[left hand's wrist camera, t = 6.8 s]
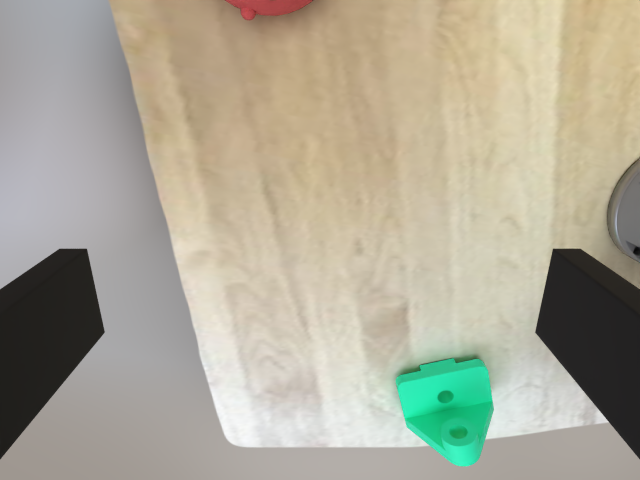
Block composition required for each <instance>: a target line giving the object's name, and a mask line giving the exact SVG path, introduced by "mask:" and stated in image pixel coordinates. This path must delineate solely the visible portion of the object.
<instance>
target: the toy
mask: <svg viewBox="0 0 640 480" xmlns="http://www.w3.org/2000/svg"><path fill="white" fill-rule="evenodd" d="M225 1H227V2H229V3H230V4H232V5H233V6H235V7H237V8H240V9H241V15H242V17H243V18H244V19H246V20H252V19H253V18H254V17H255V15H256V14H259V15H282V14H287V13H291V12H293V11H296V10H298V9H300V8H302V7H304V6H306V5H307V4H309V3H310V2H312V1H313V0H225Z"/></svg>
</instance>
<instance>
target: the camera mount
mask: <svg viewBox="0 0 640 480" xmlns="http://www.w3.org/2000/svg"><path fill="white" fill-rule="evenodd" d="M419 366H420V370H421V371H417V372H412V373H408V374H403V375H400V376H398V377H397V379H396V385H397V389H398V393H399V397H400V401H401V406H402V410H403V414H404V418H405V422H406V426H407V428H409V429H410V430H411V431H412V432H414V433H415V434H416V435H417V436H419V437H420V438H421V439H422V440H424V441H425V442H426V443H427V444H429V445H430V446H431V447H432V448H434V449H435V450H436V451H437V452H439V453H440V454H441V455H442V456H444V457H445V458H446V459H447V460H449V461H450V462H451V463H453V464H455V465H458V466H469V465H472V464H474V463H475V462H477V460H478V459H479V457H480V454H481V451H482V447H483V444H484V441H485V437H486V434H487V431H488V427H489V424H490V421H491V417H492V414H493V410H494V408H493V401H492V395H491V388H490V381H489V375H488V370H487V368H486V366H485V364H484V363H483V361H482V360H480V359H474V360H469V361H464V362H459V363H456V362H455V360H454V358H452V359H447V360H443V361H438V362H433V363H429V364H424V365H419Z"/></svg>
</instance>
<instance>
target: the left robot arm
mask: <svg viewBox="0 0 640 480" xmlns="http://www.w3.org/2000/svg"><path fill="white" fill-rule="evenodd" d="M607 221H608V229H609V232H610V235H611V238H612V240H613V241H614V243H615V244H616V246H617V247H618V248H619V249H620V250H621V251H622V252H623V253H625V254H626V255H628V256H629V257H631V258H633V259H634V260H636V261H638V262H639V263H640V159H639V160H637V161H636V162H635V163H634V164H633V165H632V166H631V167H630V168H629V169H628V170H627V172H626V173H625V174H624V175H623V177H622V178H621V179H620V181H619V182H618V184H617V186H616V188H615V190H614V192H613V194H612V197H611V200H610V203H609V207H608V216H607ZM535 333H536V334H537V335H538V336H539V337H540V339H541V340H542V341H543V342H544V344H545V345H546V346H547V347H548V348H549V350H550V351H551V352H552V353H553V354H554V356H555V357H556V358H557V359H558V361H559V362H560V363H561V364H562V365H563V367H564V368H565V369H566V370H567V371H568V373H569V374H570V375H571V376H572V378H573V379H574V380H575V381H576V382H577V384H578V385H579V386H580V387H581V388H582V390H583V391H584V392H585V393H586V395H587V396H588V397H589V398H590V399H591V401H592V402H593V403H594V404H595V405H596V407H597V408H598V409H599V410H600V412H601V413H602V414H603V415H604V416H605V418H606V419H607V420H608V421H609V422H610V424H611V425H612V426H613V427H614V429H615V430H616V431H617V432H618V433H619V435H620V436H621V437H622V438H623V439H624V441H625V442H626V443H627V444H628V446H629V447H630V448H631V449H632V450H633V452H634V453H635V454H636V455H637V456H638V458H639V459H640V289H638V288H637V287H635V286H634V285H633V284H631V283H630V282H628V281H627V280H625V279H624V278H622V277H621V276H619V275H618V274H616V273H615V272H614V271H612V270H611V269H609V268H608V267H606V266H605V265H603V264H602V263H600V262H599V261H597V260H596V259H595V258H593V257H592V256H590V255H589V254H587V253H586V252H584V251H583V250H581V249H553V252H552V256H551V261H550V266H549V271H548V275H547V280H546V285H545V289H544V294H543V299H542V303H541V308H540V313H539V318H538V322H537V327H536V332H535ZM103 334H104V327H103V322H102V318H101V313H100V308H99V304H98V299H97V294H96V289H95V285H94V280H93V275H92V271H91V266H90V261H89V256H88V252H87V249H59V250H57V251H56V252H54V253H53V254H51V255H50V256H48V257H47V258H45V259H44V260H43V261H41V262H40V263H38V264H37V265H35V266H34V267H32V268H31V269H29V270H28V271H27V272H25V273H24V274H22V275H21V276H19V277H18V278H16V279H15V280H13V281H12V282H10V283H9V284H7V285H6V286H5V287H3V288H2V289H0V459H1V458H2V456H3V455H4V454H5V453H6V452H7V450H8V449H9V448H10V447H11V446H12V444H13V443H14V442H15V441H16V439H17V438H18V437H19V436H20V435H21V433H22V432H23V431H24V430H25V428H26V427H27V426H28V425H29V424H30V422H31V421H32V420H33V419H34V418H35V416H36V415H37V414H38V413H39V412H40V410H41V409H42V408H43V407H44V405H45V404H46V403H47V402H48V401H49V399H50V398H51V397H52V396H53V395H54V393H55V392H56V391H57V390H58V388H59V387H60V386H61V385H62V384H63V382H64V381H65V380H66V379H67V378H68V376H69V375H70V374H71V373H72V371H73V370H74V369H75V368H76V367H77V365H78V364H79V363H80V362H81V361H82V359H83V358H84V357H85V356H86V354H87V353H88V352H89V351H90V349H91V348H92V347H93V346H94V345H95V344H96V342H97V341H98V340H99V339H100V337H101V336H102V335H103Z"/></svg>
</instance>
